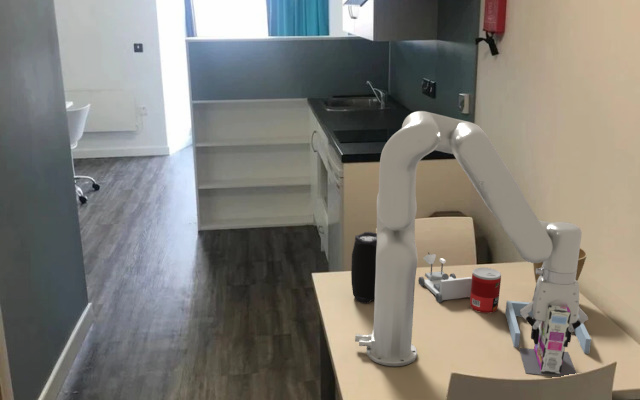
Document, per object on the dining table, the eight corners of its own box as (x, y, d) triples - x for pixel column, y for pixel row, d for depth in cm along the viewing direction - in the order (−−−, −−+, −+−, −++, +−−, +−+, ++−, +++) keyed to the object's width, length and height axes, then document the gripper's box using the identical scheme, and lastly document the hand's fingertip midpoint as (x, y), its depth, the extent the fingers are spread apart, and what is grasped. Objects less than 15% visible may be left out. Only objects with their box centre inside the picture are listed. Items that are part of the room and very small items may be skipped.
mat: (525, 373, 155) (525, 372, 155) (519, 348, 166) (519, 347, 166) (578, 378, 153) (578, 377, 153) (568, 352, 165) (568, 351, 165)
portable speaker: (386, 302, 191) (389, 240, 185) (355, 306, 189) (357, 242, 183) (376, 290, 199) (378, 230, 193) (347, 293, 197) (348, 232, 191)
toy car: (416, 252, 205) (449, 248, 208) (414, 280, 207) (447, 277, 210) (441, 274, 188) (477, 270, 191) (439, 305, 191) (475, 300, 194)
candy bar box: (562, 375, 154) (572, 312, 149) (540, 372, 155) (549, 310, 150) (553, 351, 165) (562, 292, 160) (533, 349, 165) (541, 290, 161)
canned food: (498, 314, 184) (502, 279, 181) (469, 312, 186) (472, 276, 183) (497, 303, 192) (500, 268, 188) (469, 300, 193) (472, 266, 190)
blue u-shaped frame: (513, 347, 167) (515, 332, 166) (505, 313, 185) (506, 300, 184) (589, 353, 164) (591, 339, 163) (572, 318, 183) (574, 305, 181)
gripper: (523, 278, 151) (515, 347, 156) (601, 283, 148) (590, 354, 154) (518, 265, 158) (511, 332, 163) (593, 271, 155) (583, 338, 161)
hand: (549, 342), depth 158 cm, fingers open, 6 cm apart
